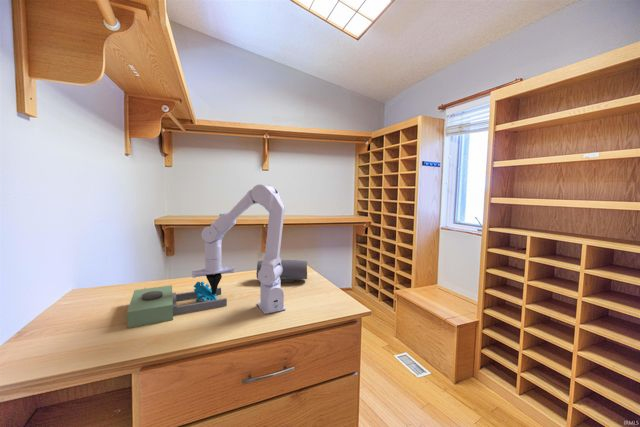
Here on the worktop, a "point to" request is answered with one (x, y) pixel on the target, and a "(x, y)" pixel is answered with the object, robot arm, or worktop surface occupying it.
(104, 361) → the worktop surface
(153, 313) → the green block with rails
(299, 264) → the bluetooth speaker
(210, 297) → the gear
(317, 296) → the worktop surface
